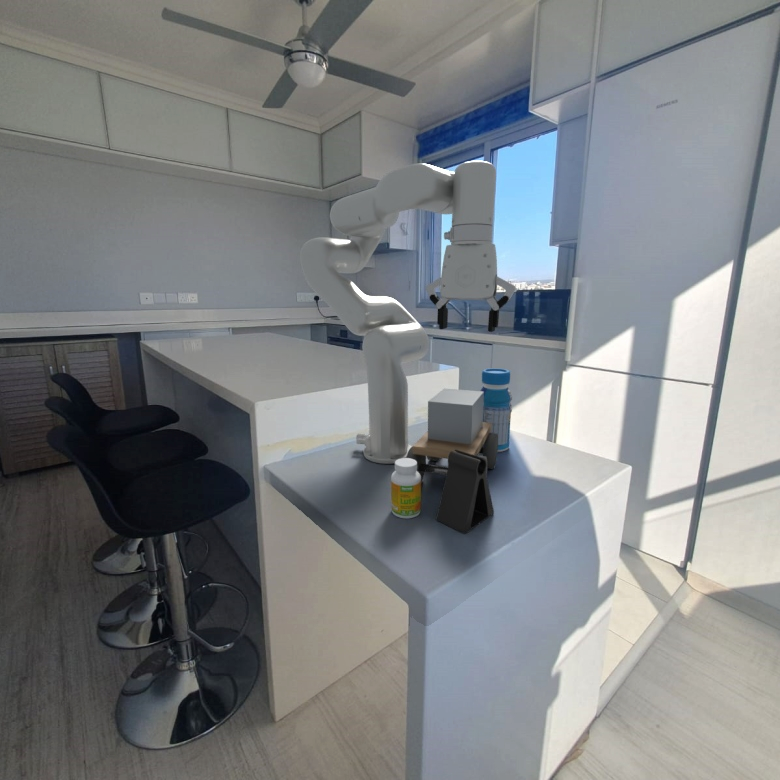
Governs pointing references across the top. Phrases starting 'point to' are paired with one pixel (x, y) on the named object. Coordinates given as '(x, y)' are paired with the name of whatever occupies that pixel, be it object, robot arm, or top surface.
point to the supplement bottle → (406, 489)
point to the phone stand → (465, 493)
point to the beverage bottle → (497, 404)
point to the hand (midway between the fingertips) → (466, 329)
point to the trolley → (454, 431)
